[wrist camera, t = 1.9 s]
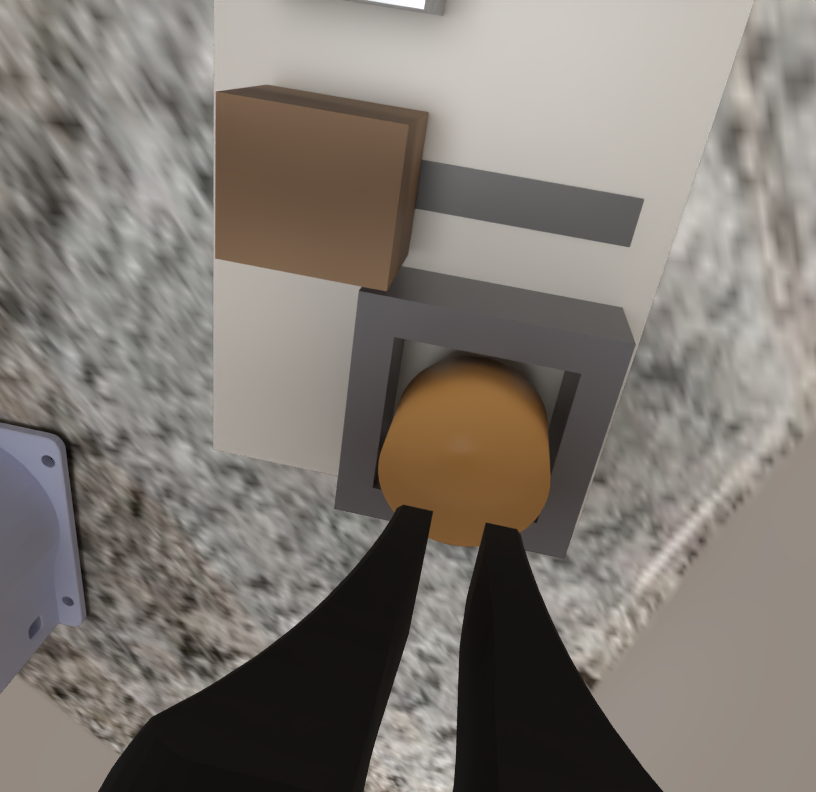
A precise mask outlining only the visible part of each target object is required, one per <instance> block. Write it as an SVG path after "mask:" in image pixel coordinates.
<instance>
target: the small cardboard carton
mask: <svg viewBox="0 0 816 792" xmlns="http://www.w3.org/2000/svg"><path fill="white" fill-rule="evenodd" d="M428 114H429V112H425V111H419V110H413V109H407V108H402V107H396V106H390V105H384V104H378V103H372V102H366V101H360V100H355V99H349V98H343V97H337V96H331V95H325V94H319V93H314V92H308V91H302V90H296V89H290V88H284V87H278V86H272V85H267V84H266V85H259V86H252V87H245V88H238V89H230V90H223V91H216V119H215V259H220V260H225V261H230V262H236V263H241V264H246V265H251V266H256V267H262V268H267V269H272V270H277V271H283V272H288V273H293V274H298V275H303V276H309V277H314V278H319V279H324V280H330V281H335V282H340V283H345V284H350V285H356V286H361V287H366V288H371V289H377V290H382V291H387V290H388V288H389V287H390V285H391V283H392V282H393V280H394V278H395V276H396V275H397V273H398V271H399V270H400V268H401V266H402V264H403V263H404V261H405V259H406V258H407V256H408V252H409V245H410V238H411V231H412V224H413V217H414V210H415V203H416V196H417V190H418V183H419V176H420V169H421V162H422V155H423V148H424V141H425V134H426V127H427V120H428Z"/></svg>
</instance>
